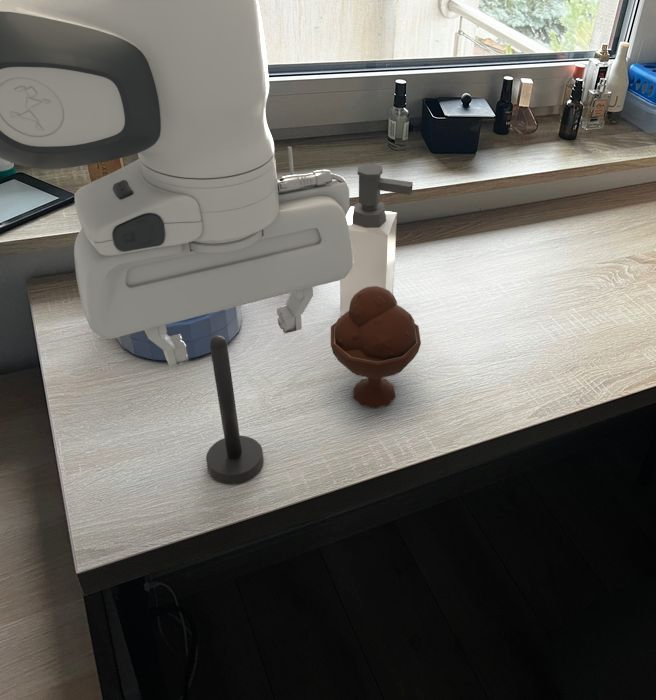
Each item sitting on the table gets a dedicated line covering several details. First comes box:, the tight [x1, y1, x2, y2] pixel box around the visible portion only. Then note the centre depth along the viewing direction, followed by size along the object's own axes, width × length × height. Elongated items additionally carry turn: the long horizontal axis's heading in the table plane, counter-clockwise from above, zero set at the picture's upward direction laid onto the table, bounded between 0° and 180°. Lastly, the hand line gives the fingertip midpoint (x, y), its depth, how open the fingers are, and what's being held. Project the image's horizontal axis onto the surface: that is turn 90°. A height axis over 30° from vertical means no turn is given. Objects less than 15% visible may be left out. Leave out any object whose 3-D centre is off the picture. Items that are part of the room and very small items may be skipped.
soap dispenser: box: [339, 162, 414, 317], centre depth 100 cm, size 6×9×22 cm
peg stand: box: [205, 336, 264, 485], centre depth 76 cm, size 6×6×18 cm
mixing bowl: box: [115, 305, 243, 361], centre depth 97 cm, size 16×16×6 cm
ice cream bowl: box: [330, 286, 422, 409], centre depth 88 cm, size 11×11×15 cm
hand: (235, 343), depth 60 cm, fingers open, 8 cm apart
